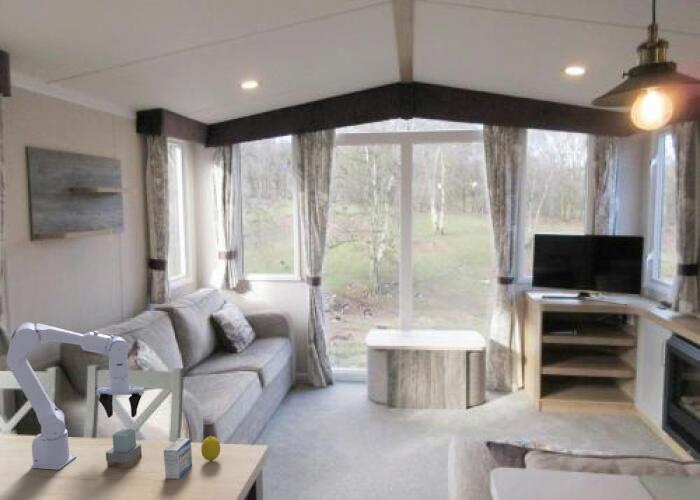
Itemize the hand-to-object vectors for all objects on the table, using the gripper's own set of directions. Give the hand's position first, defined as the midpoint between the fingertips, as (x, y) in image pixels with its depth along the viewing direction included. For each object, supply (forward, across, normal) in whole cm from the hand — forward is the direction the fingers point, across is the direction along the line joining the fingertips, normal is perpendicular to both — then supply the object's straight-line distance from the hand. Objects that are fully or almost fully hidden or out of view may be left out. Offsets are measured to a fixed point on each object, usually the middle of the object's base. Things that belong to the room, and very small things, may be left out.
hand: (122, 416), depth 169 cm
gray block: (+8, +4, -10) cm, 14 cm away
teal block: (+6, +5, -10) cm, 12 cm away
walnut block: (+11, +4, -10) cm, 15 cm away
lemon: (+11, +31, -10) cm, 34 cm away
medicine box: (+11, +23, -16) cm, 30 cm away
